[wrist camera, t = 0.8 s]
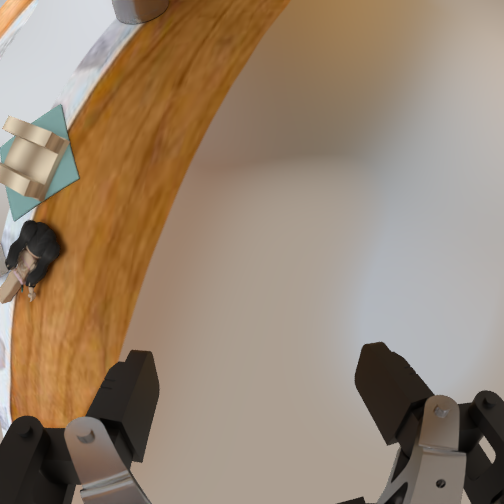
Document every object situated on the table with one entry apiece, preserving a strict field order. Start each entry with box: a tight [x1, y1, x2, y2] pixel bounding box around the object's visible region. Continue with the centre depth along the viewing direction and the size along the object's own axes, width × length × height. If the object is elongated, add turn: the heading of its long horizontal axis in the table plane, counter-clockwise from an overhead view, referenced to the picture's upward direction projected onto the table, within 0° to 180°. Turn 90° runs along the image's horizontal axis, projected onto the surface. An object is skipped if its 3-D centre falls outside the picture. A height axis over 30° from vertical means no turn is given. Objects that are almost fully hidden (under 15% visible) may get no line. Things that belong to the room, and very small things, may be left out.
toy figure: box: [0, 219, 61, 304], centre depth 28 cm, size 7×6×15 cm
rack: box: [0, 116, 70, 202], centre depth 26 cm, size 10×9×6 cm
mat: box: [0, 104, 80, 221], centre depth 29 cm, size 13×13×1 cm
